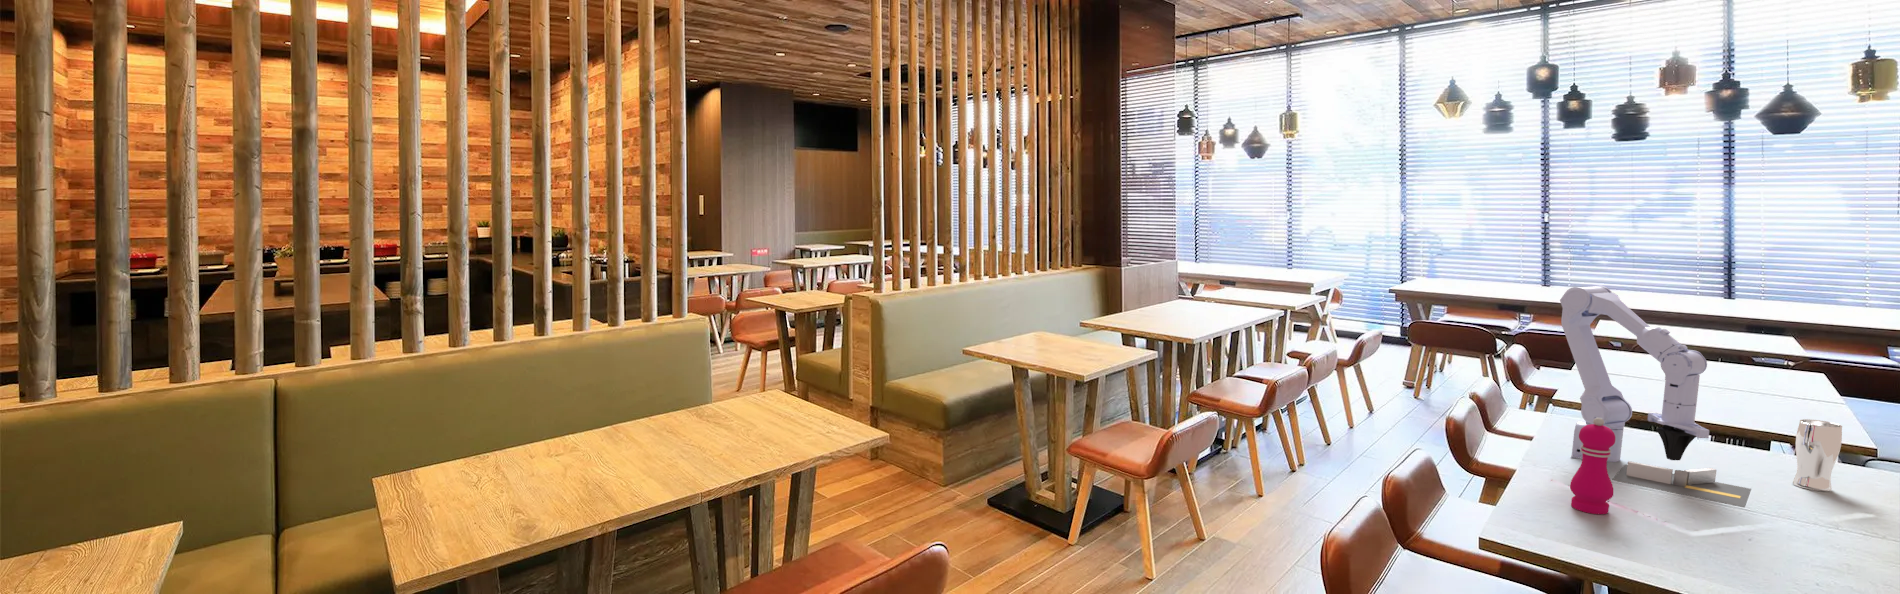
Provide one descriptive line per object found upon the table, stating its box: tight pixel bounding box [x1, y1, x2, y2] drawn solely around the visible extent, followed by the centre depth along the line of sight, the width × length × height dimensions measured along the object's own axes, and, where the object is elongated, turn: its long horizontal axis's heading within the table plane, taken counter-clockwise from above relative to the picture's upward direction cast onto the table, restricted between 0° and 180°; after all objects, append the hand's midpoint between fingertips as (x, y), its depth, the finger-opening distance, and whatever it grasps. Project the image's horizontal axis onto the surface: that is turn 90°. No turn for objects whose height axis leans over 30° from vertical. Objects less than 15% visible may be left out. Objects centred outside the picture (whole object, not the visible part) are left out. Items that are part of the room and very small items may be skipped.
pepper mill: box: [1569, 418, 1615, 515], centre depth 169 cm, size 7×7×20 cm
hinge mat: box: [1611, 460, 1752, 508], centre depth 182 cm, size 22×16×4 cm
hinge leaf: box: [1683, 467, 1717, 485], centre depth 183 cm, size 8×1×3 cm, turn 102°
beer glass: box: [1792, 418, 1843, 492], centre depth 182 cm, size 7×7×15 cm
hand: (1673, 459), depth 187 cm, fingers closed
